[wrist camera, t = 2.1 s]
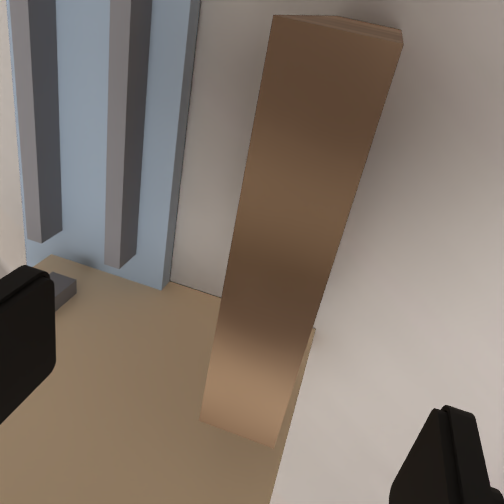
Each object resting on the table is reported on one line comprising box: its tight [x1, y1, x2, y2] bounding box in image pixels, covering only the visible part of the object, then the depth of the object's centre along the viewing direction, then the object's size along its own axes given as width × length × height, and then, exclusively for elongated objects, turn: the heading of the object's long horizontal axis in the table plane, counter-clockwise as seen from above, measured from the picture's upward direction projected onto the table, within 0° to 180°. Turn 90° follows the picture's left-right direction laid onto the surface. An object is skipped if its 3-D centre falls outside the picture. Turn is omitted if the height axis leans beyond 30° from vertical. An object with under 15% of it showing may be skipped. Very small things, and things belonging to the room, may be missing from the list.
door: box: [199, 15, 404, 449], centre depth 19 cm, size 15×3×12 cm, turn 169°
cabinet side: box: [0, 0, 316, 504], centre depth 17 cm, size 24×20×20 cm
